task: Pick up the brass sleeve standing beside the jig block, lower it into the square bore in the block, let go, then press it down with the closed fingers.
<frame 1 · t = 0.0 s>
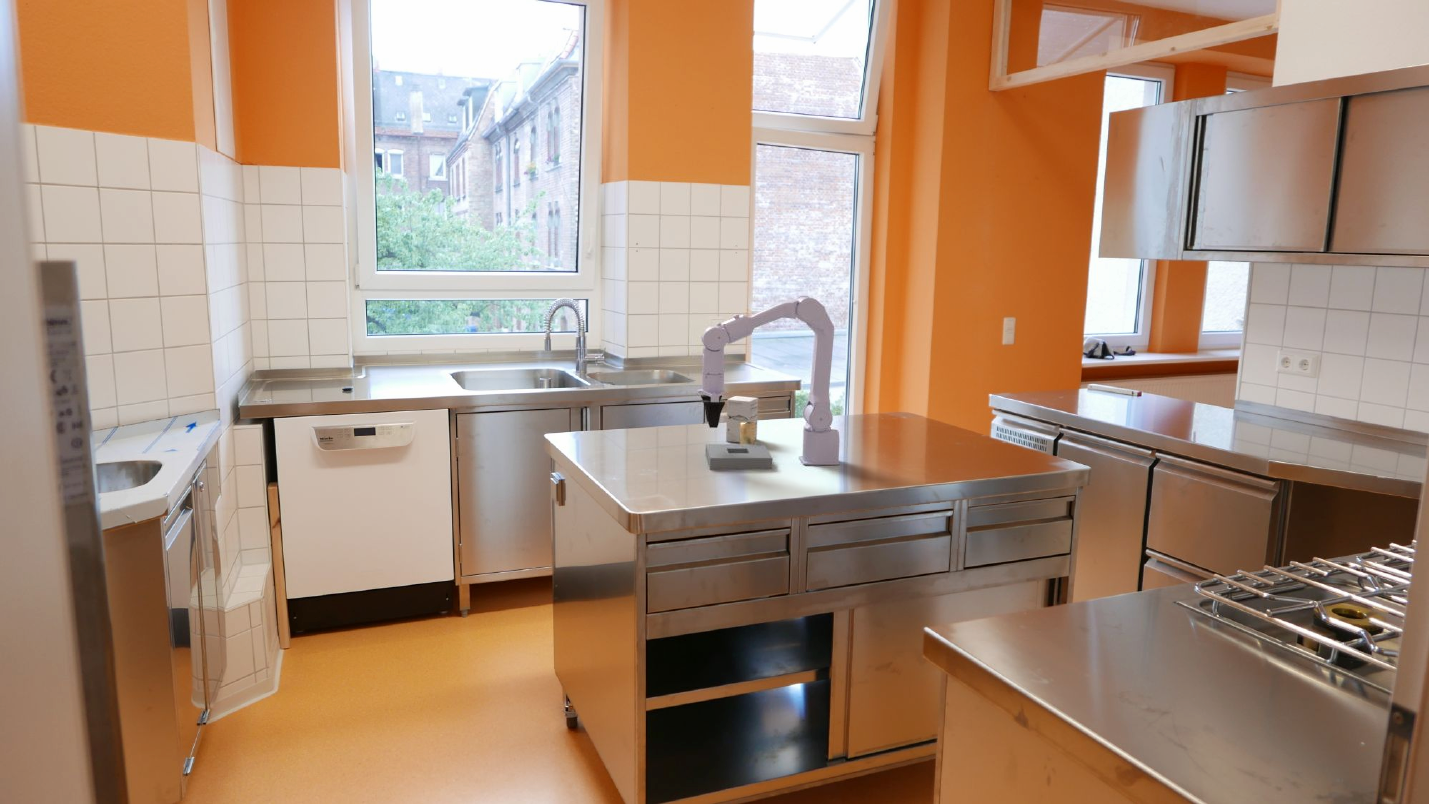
hand: (712, 424, 238), 10 cm above the counter, tool pointing down, fingers open, 7 cm apart
brass sleeve: (746, 450, 254), on the counter
jig block: (737, 461, 241), on the counter
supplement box: (741, 441, 266), on the counter
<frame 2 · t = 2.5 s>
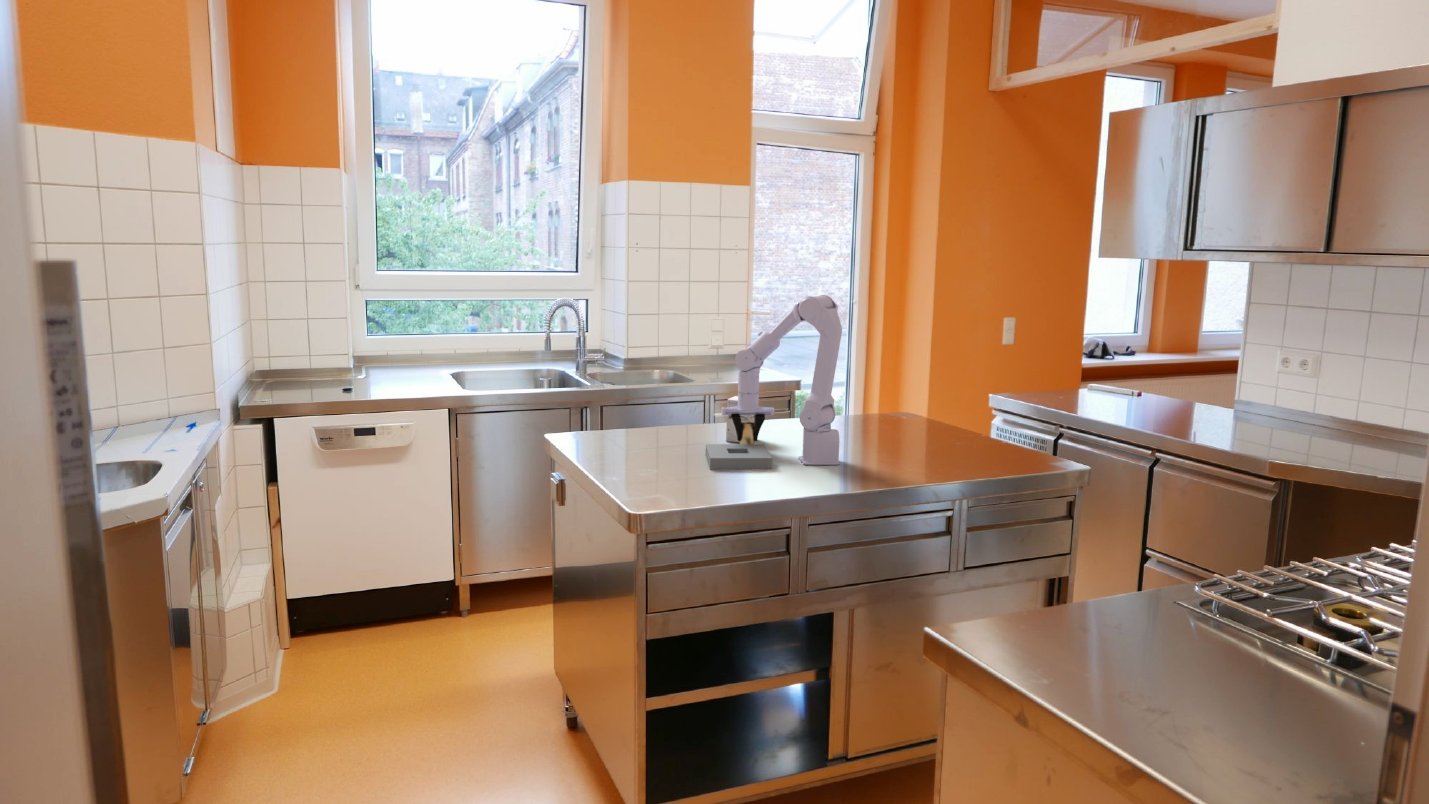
hand: (747, 440, 253), 3 cm above the counter, tool pointing down, fingers closed on brass sleeve, 4 cm apart
brass sleeve: (746, 450, 254), on the counter, touching gripper
everything else where it was.
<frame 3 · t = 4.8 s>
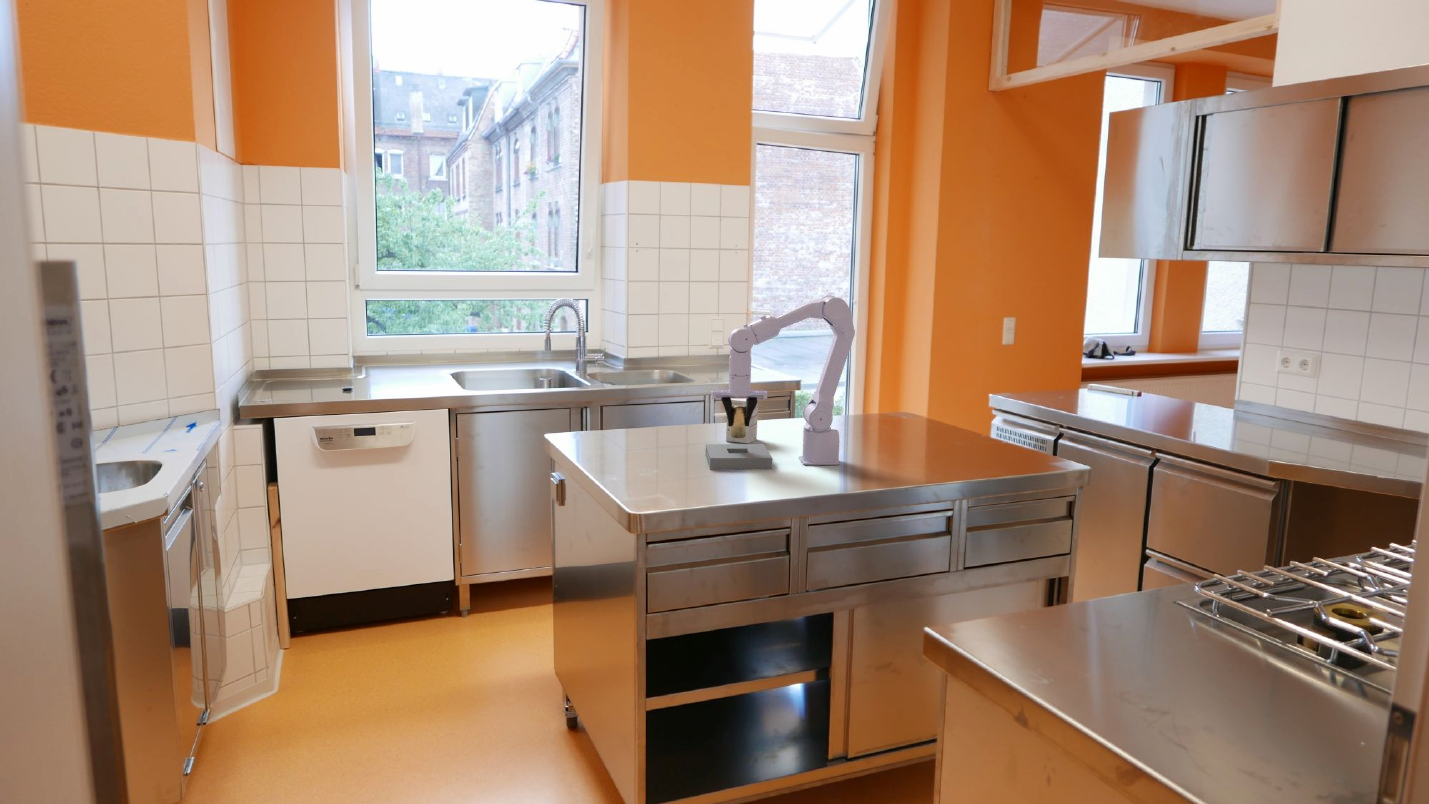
hand: (738, 425, 239), 10 cm above the counter, tool pointing down, fingers closed on brass sleeve, 4 cm apart
brass sleeve: (738, 436, 239), point 7 cm above the counter, touching gripper
everything else where it was.
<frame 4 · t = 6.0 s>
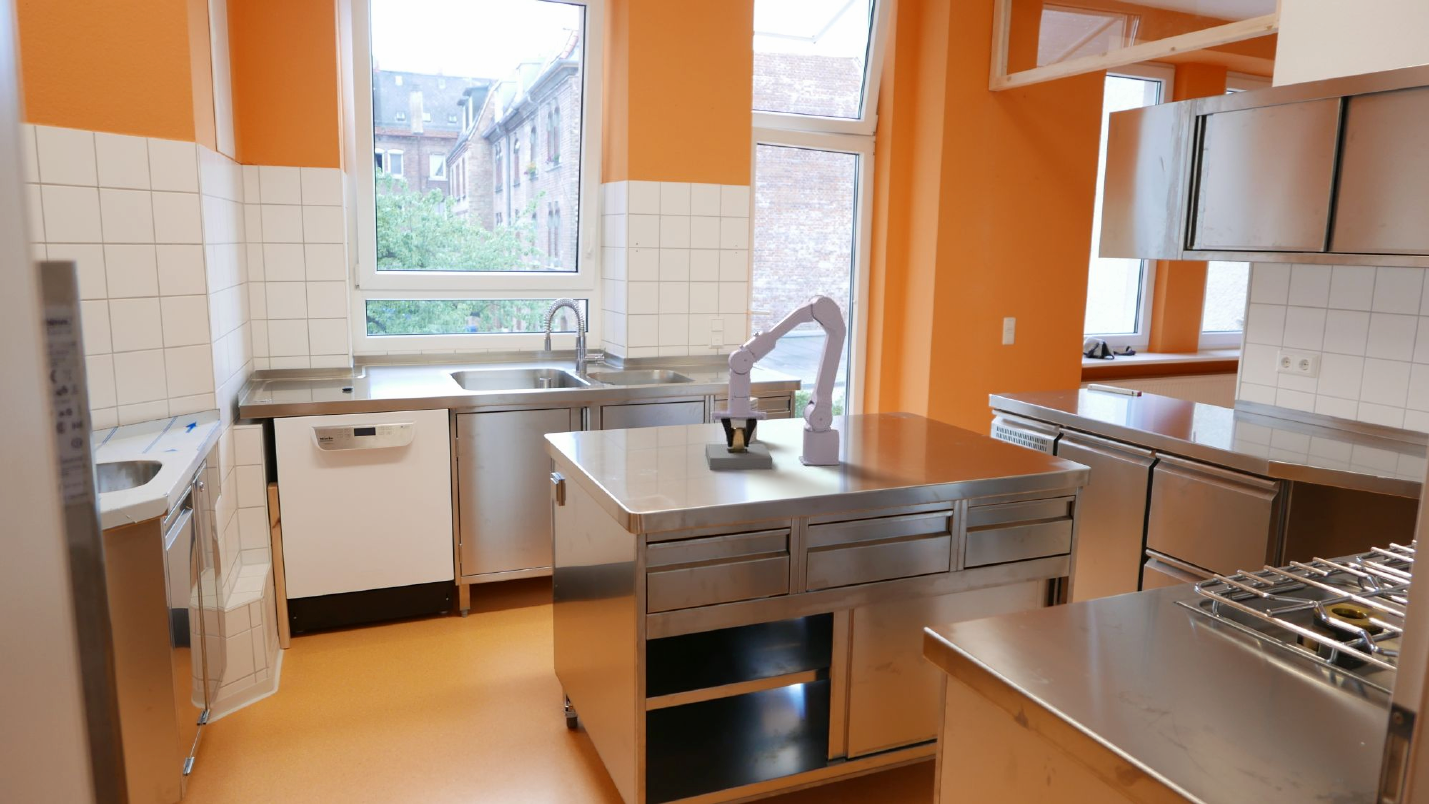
hand: (738, 446, 240), 4 cm above the counter, tool pointing down, fingers closed on brass sleeve, 4 cm apart
brass sleeve: (737, 457, 240), point 1 cm above the counter, touching gripper
everything else where it was.
when the fingers open (4 cm above the counter, at t = 6.9 s): brass sleeve stays where it is, resting in jig block.
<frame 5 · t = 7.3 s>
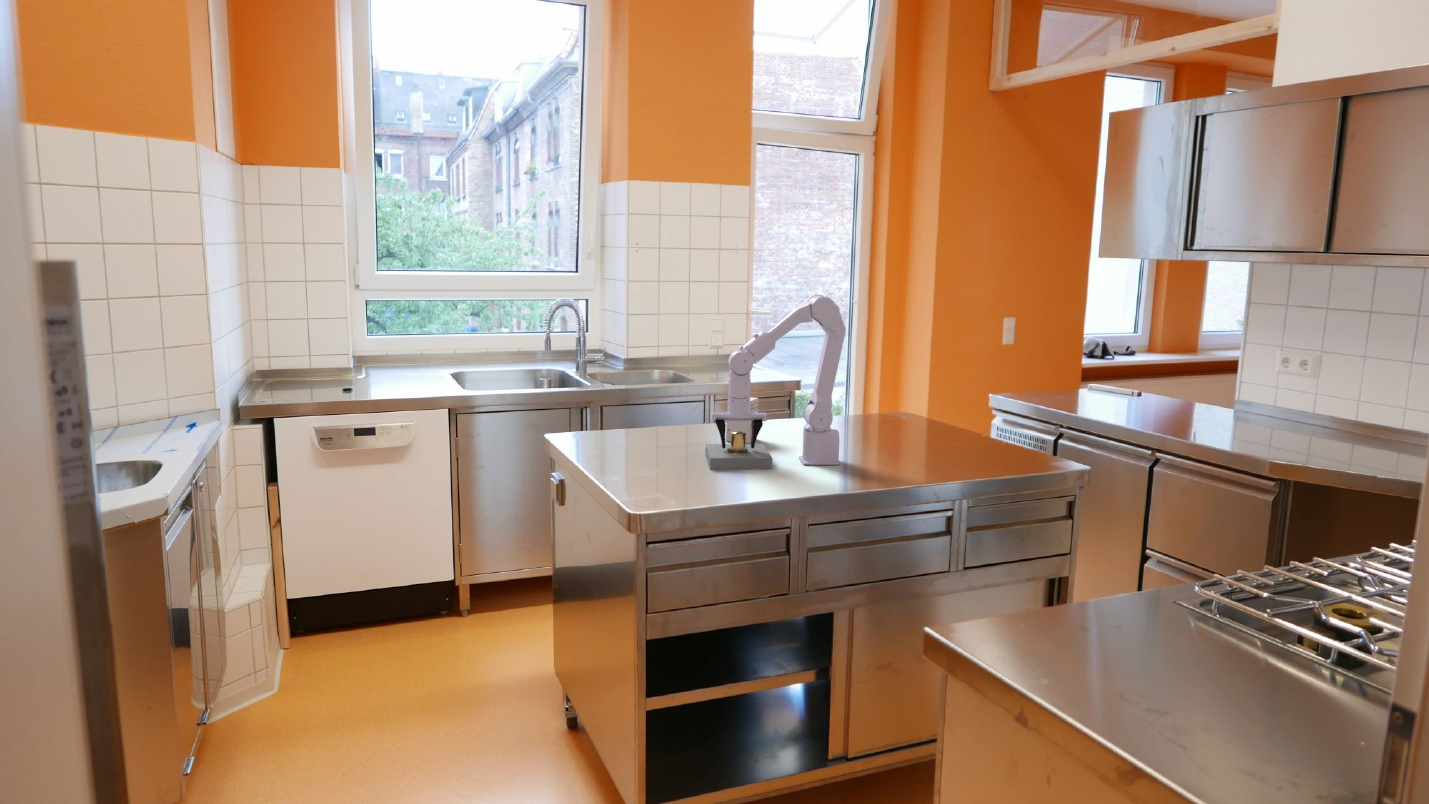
hand: (738, 447, 240), 4 cm above the counter, tool pointing down, fingers open, 7 cm apart
brass sleeve: (737, 461, 241), resting in jig block
everything else where it was.
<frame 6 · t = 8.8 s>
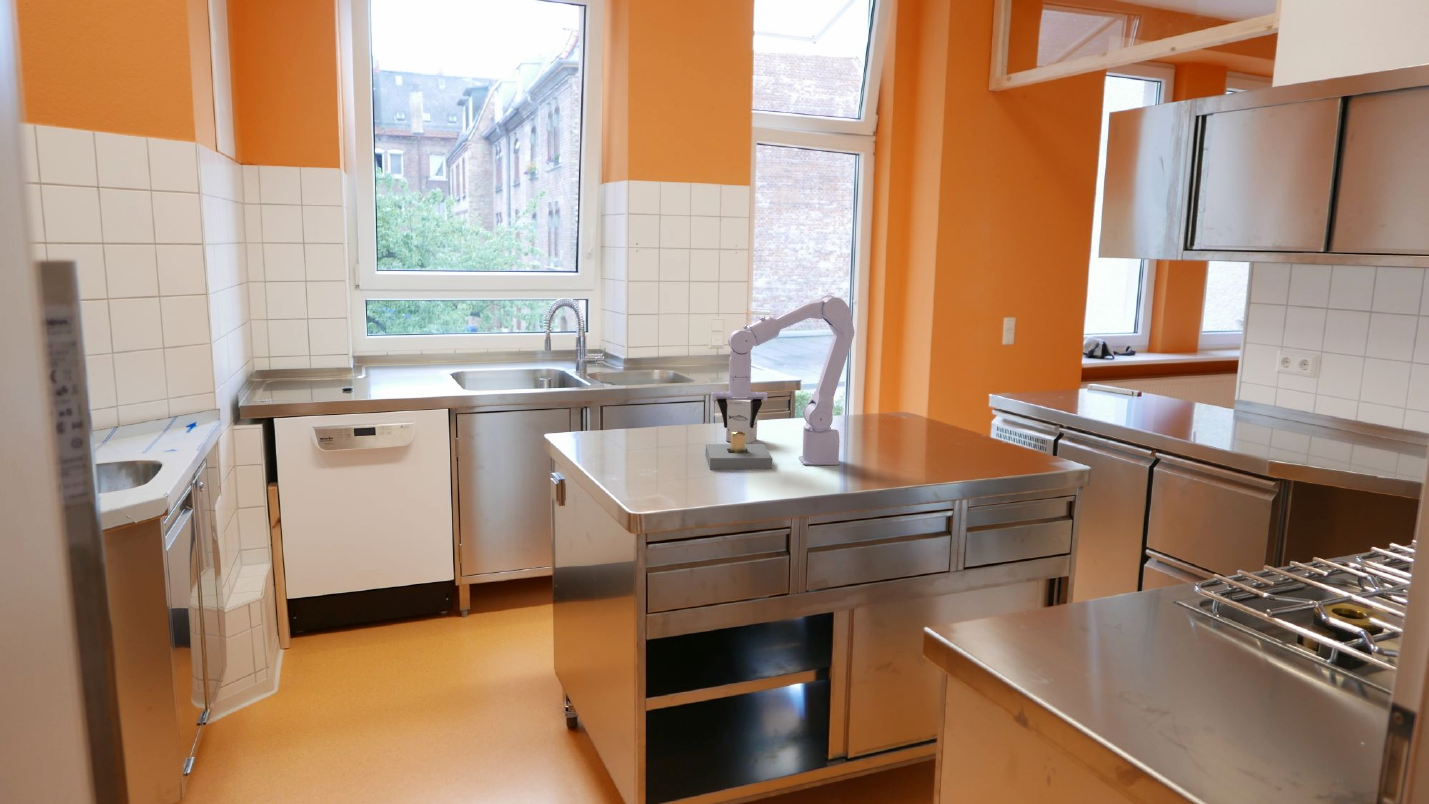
hand: (738, 427, 239), 9 cm above the counter, tool pointing down, fingers open, 6 cm apart
nothing on the counter moved.
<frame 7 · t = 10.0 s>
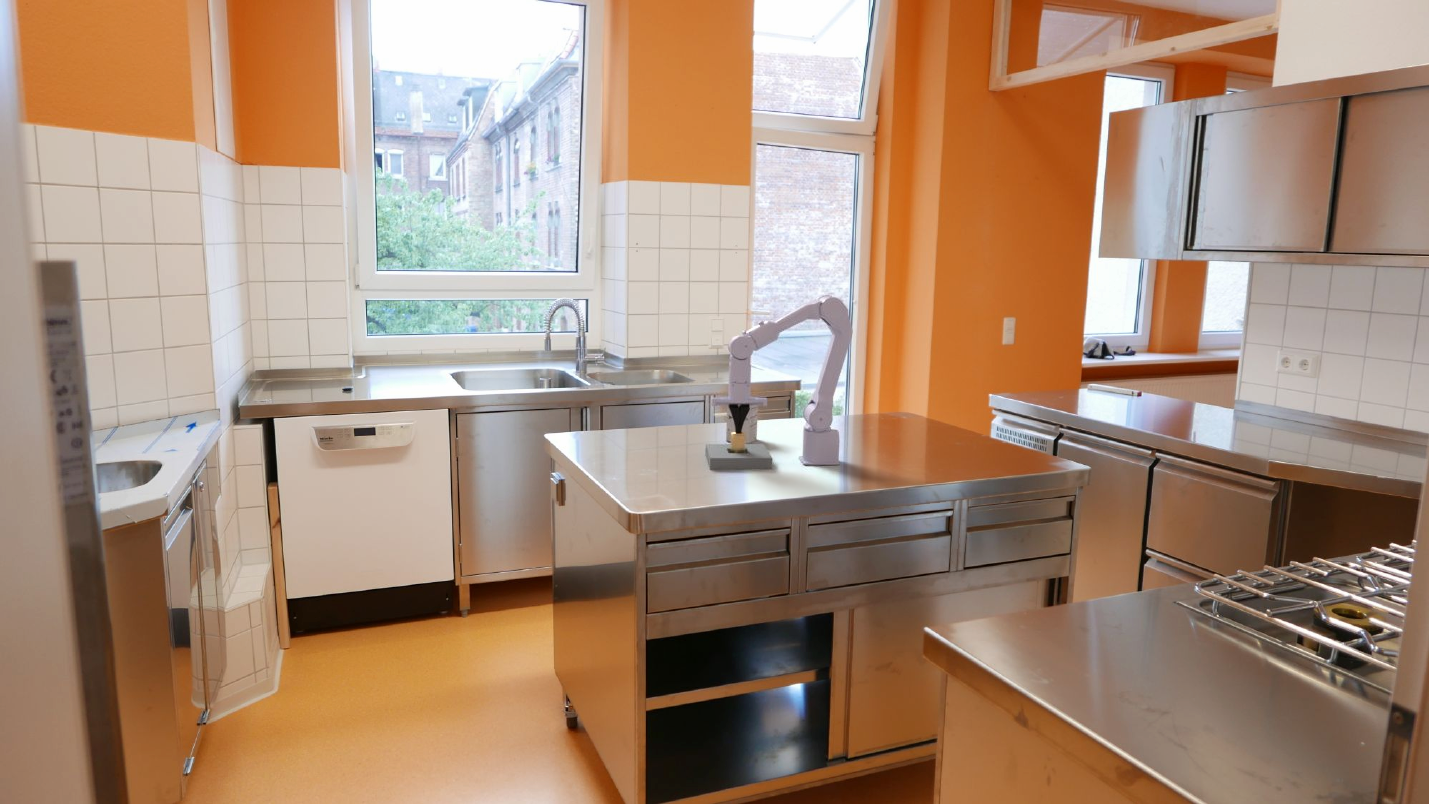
hand: (738, 432, 239), 8 cm above the counter, tool pointing down, fingers closed, pressing on brass sleeve
brass sleeve: (737, 461, 241), resting in jig block, touching gripper
everything else where it was.
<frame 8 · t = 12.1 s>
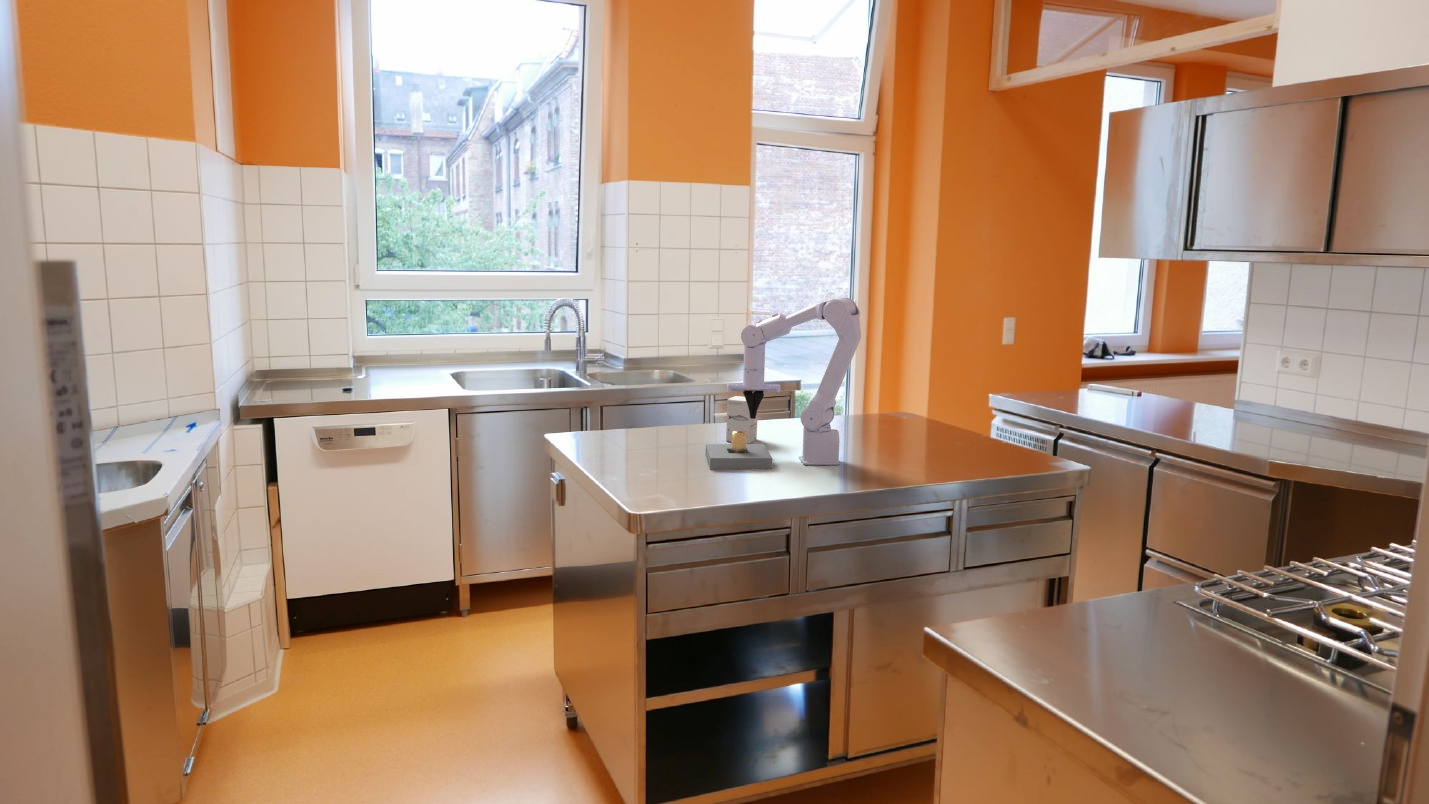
hand: (752, 418, 249), 10 cm above the counter, tool pointing down, fingers closed
brass sleeve: (737, 461, 241), resting in jig block
everything else where it was.
at the end: brass sleeve 0.0 cm off-centre on the jig block, point 0.1 cm above the jig block's base; brass sleeve tilted 3°; the gripper is holding nothing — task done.
